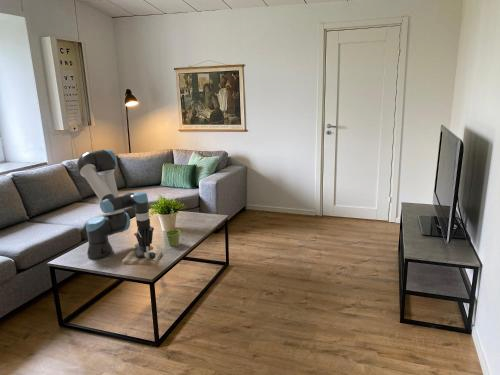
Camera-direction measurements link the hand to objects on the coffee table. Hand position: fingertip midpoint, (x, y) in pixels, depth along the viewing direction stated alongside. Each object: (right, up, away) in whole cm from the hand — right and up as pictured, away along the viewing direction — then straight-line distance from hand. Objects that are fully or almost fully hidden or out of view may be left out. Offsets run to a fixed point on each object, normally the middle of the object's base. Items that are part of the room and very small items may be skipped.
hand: (147, 256), depth 223 cm
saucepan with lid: (-2, -1, +5) cm, 5 cm away
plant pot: (+11, +3, +27) cm, 29 cm away
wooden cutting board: (-5, -3, +8) cm, 10 cm away
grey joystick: (-9, +1, +23) cm, 24 cm away
